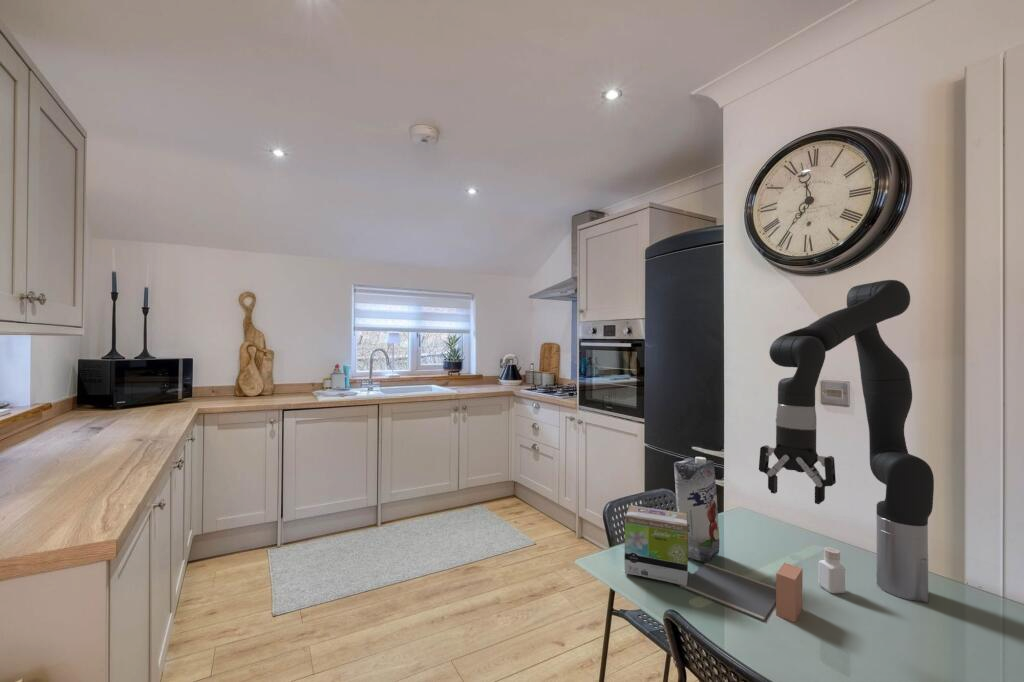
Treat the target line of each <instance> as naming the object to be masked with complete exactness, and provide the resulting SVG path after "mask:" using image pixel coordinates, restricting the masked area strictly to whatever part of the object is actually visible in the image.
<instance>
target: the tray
mask: <svg viewBox="0 0 1024 682" xmlns="http://www.w3.org/2000/svg"><path fill="white" fill-rule="evenodd" d="M703 563H704V564H703V565H701V567H699V568H698V569H697V570H696V571H695V572H693V574H691V575H690V576H689V577H687V585H686V586H683V585H679V588H681V589H683V590H686V591H688V592H690V593H693V594H696V595H698V596H700V597H703V598H705V599H708V600H710V601H712V602H715V603H717V604H720V605H722V606H725V607H727V608H730V609H732V610H734V611H736V612H740V613H742V614H744V615H747V616H749V617H752V618H754V619H757V620H759V621H761V622H765V620H766V618H767V617H768V616H769V614H770V613H771V611H772V609H773V608H774V606H776V586H773V585H770V584H767V583H764V582H762V581H758V580H755V579H753V578H751V577H747V576H746V575H745V576H744V575H741V574H739V573H735V572H734V571H733V572H732V571H730V570H727V569H725V568H721V567H718V566H716V565H713V564H710V563H708V562H703Z"/></svg>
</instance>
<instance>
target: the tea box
mask: <svg viewBox="0 0 1024 682" xmlns="http://www.w3.org/2000/svg"><path fill="white" fill-rule="evenodd" d="M628 506H629V507H628V509H627V512H626V513H625V514H626V515H625V517H624V518H625V519H624V522H625V523H624V559H623V560H624V574H625V575H634V576H639V577H640V576H641V577H643V578H648V579H653V580H658V581H661V582H662V581H663V582H665V583H666V582H667V583H671V584H676V585H679V586H680V585H683V586H686V585H687V579H688V576H689V575H688V573H689V572H688V571H689V570H688V569H689V567H688V564H689V563H688V562H689V558H688V521H687V513H680V512H677V511H674V510H665V509H659V508H653V507H652V508H650V507H646V506H645V507H644V506H640V505H639V506H638V505H633V504H632V505H631V504H629V505H628Z"/></svg>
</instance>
